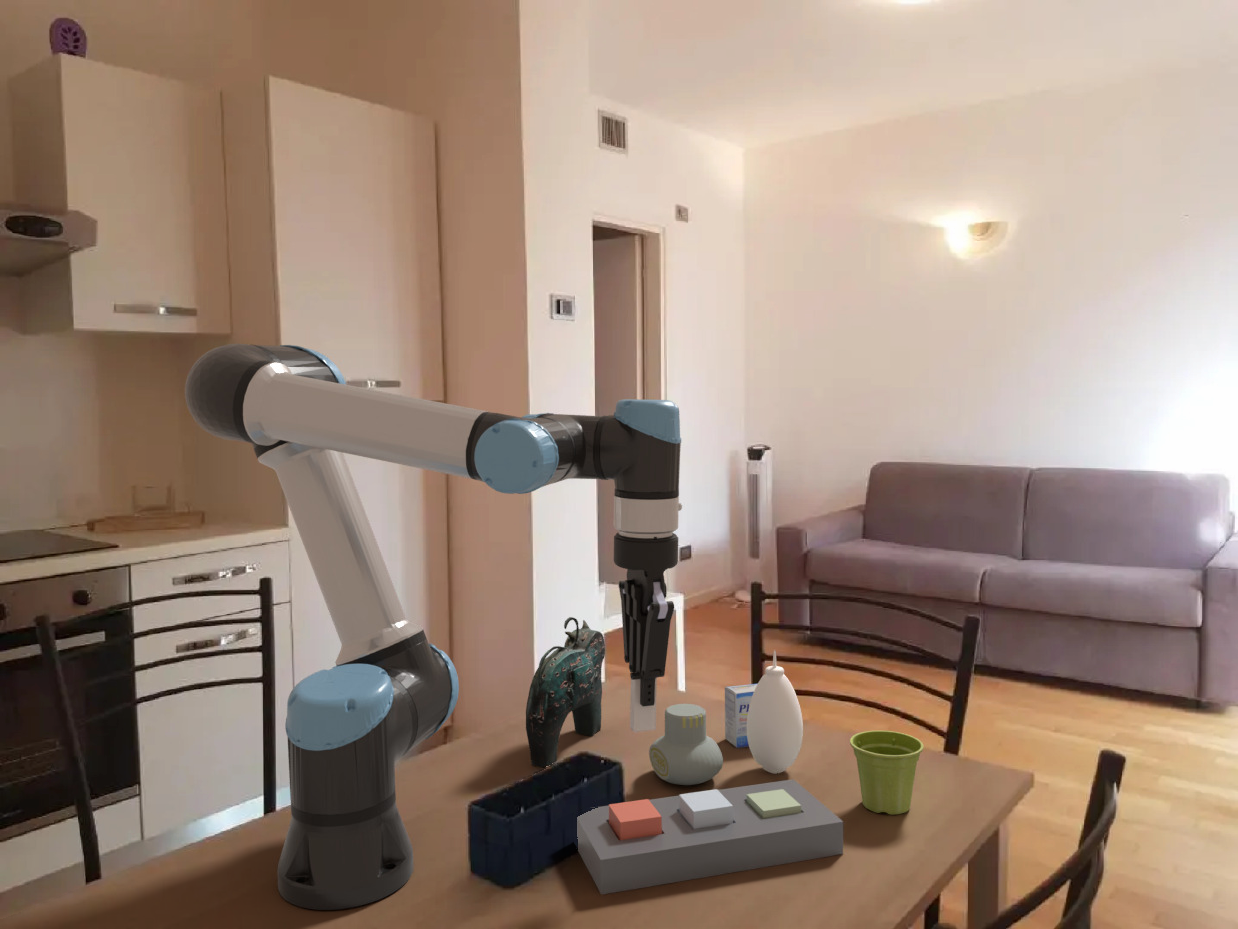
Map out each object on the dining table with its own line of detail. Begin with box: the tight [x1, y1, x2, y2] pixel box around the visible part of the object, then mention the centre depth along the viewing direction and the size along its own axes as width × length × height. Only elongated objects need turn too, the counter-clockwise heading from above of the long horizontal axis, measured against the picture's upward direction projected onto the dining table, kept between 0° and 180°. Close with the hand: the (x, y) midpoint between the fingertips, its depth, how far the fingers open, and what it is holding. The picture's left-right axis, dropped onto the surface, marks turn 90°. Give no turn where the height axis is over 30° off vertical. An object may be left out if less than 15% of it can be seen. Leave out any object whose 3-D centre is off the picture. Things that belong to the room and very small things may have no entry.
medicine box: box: [724, 683, 758, 749], centre depth 153 cm, size 8×4×9 cm, turn 106°
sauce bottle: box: [747, 649, 804, 775], centre depth 140 cm, size 8×8×18 cm
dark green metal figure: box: [525, 616, 606, 768], centre depth 151 cm, size 20×6×20 cm, turn 154°
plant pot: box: [849, 730, 924, 815], centre depth 129 cm, size 9×9×9 cm
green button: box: [747, 789, 801, 819], centre depth 120 cm, size 5×5×3 cm
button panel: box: [577, 779, 844, 895], centre depth 118 cm, size 30×13×4 cm, turn 106°
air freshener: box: [648, 703, 724, 786], centre depth 139 cm, size 11×8×10 cm
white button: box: [678, 788, 733, 829], centre depth 118 cm, size 5×5×3 cm
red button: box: [608, 798, 662, 841], centre depth 115 cm, size 5×5×3 cm
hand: (642, 728), depth 115 cm, fingers closed
